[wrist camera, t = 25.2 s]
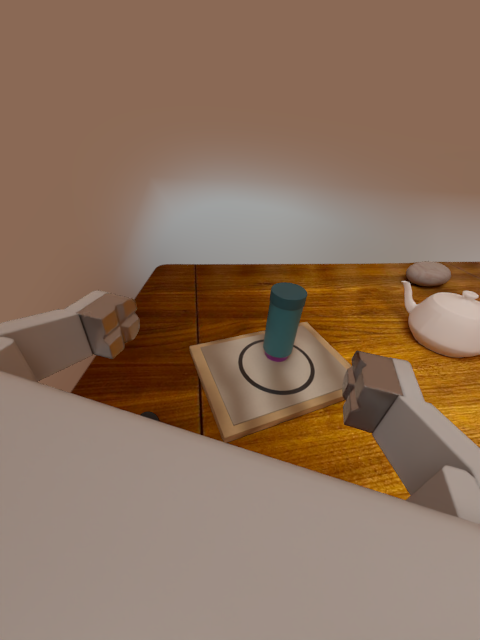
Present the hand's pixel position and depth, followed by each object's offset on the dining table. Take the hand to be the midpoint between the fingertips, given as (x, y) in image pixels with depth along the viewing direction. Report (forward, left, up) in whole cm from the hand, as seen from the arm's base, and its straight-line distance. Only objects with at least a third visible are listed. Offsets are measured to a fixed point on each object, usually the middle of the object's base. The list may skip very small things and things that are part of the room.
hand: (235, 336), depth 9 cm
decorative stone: (+68, +31, -22) cm, 78 cm away
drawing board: (+14, +16, -22) cm, 31 cm away
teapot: (+47, +13, -22) cm, 54 cm away
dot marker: (+15, +17, -21) cm, 31 cm away
